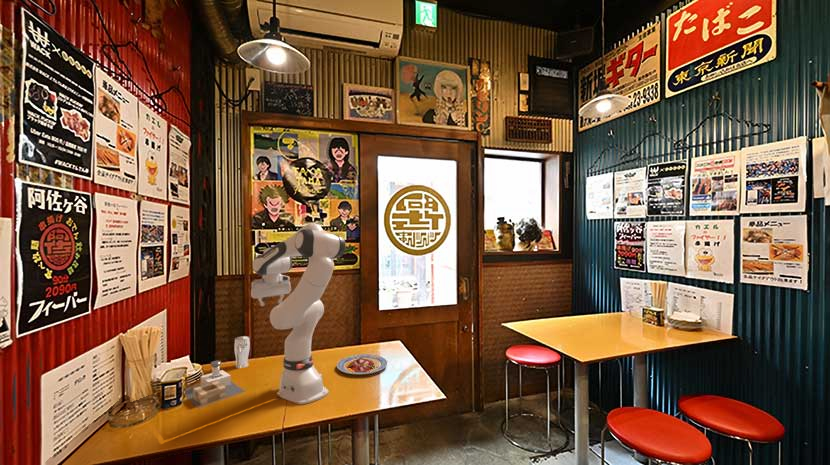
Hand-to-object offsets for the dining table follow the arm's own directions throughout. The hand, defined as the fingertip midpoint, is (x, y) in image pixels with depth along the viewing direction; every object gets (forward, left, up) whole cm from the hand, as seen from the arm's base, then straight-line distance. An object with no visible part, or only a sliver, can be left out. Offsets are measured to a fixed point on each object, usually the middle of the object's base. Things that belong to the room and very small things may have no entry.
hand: (271, 304), depth 177 cm
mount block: (-18, +35, -30) cm, 50 cm away
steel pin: (-7, +29, -30) cm, 42 cm away
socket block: (-8, +29, -30) cm, 42 cm away
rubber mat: (-13, +32, -31) cm, 46 cm away
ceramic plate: (-39, -29, -32) cm, 58 cm away
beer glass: (+6, +12, -31) cm, 34 cm away
